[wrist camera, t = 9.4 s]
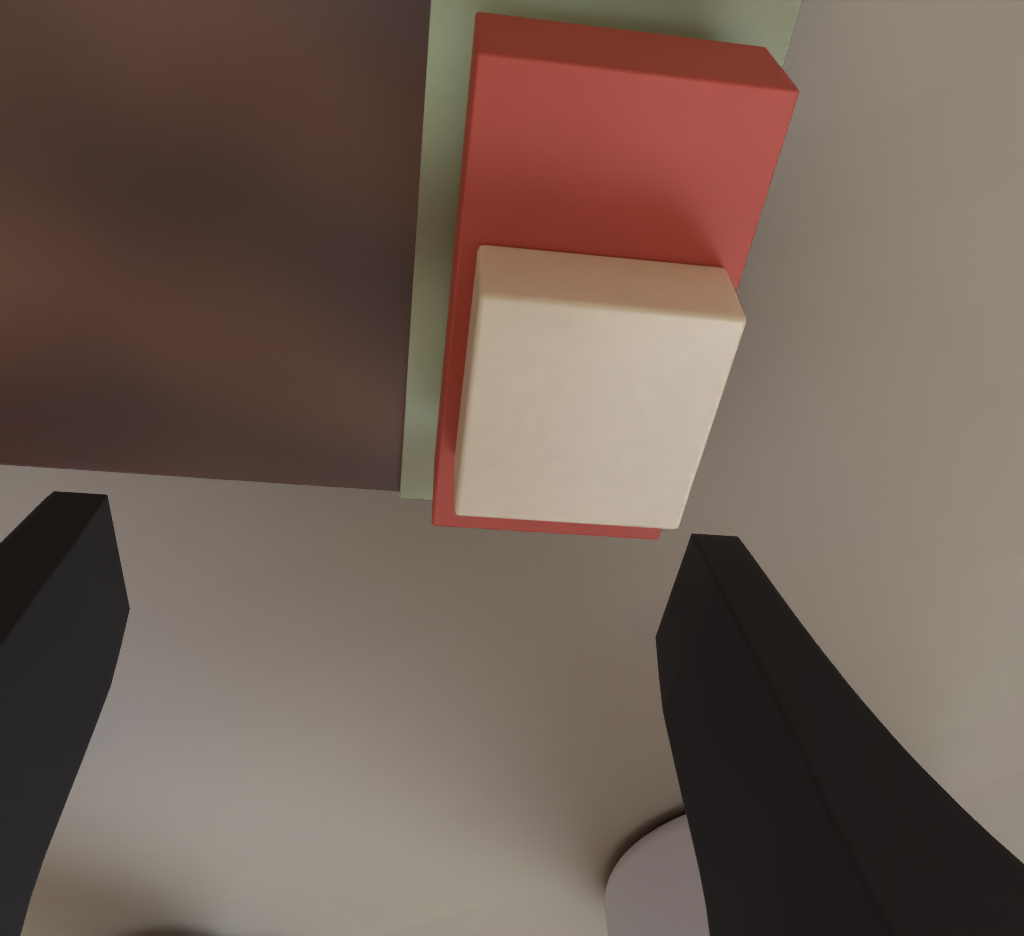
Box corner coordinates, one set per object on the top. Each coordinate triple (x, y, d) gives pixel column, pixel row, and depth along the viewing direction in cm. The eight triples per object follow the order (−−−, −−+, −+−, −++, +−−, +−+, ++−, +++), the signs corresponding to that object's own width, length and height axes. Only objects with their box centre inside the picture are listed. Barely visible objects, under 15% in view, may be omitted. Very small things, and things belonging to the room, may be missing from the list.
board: (642, 481, 24) (649, 514, 23) (-310, 415, 21) (-345, 449, 20) (811, -115, 15) (832, -101, 14) (-721, -334, 13) (-812, -333, 12)
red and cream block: (638, 446, 21) (671, 600, 18) (435, 431, 21) (429, 586, 17) (752, 27, 16) (834, 133, 12) (475, -7, 15) (477, 93, 12)
